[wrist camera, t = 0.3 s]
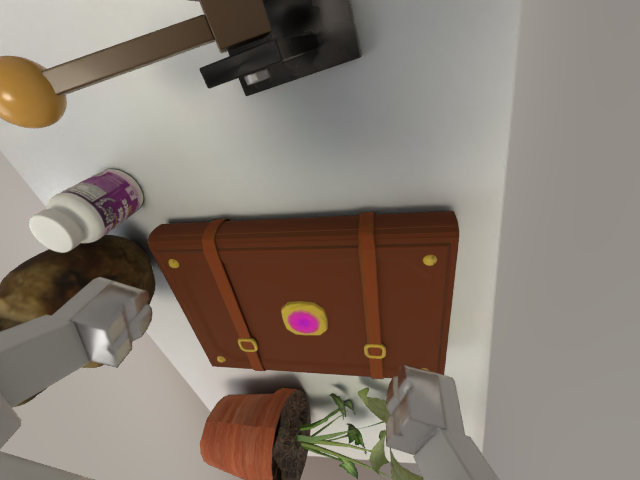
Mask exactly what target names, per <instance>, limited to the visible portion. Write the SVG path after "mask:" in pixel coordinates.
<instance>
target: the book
mask: <svg viewBox="0 0 640 480" xmlns="http://www.w3.org/2000/svg"><path fill="white" fill-rule="evenodd" d="M147 242H148V246H149V248H150V250H151V252H152V254H153V255H154V257H155V259H156V261H157V263H158V265H159V267H160V269H161V270H162V272H163V274H164V276H165V278H166V280H167V282H168V284H169V285H170V287H171V289H172V291H173V293H174V295H175V297H176V299H177V301H178V302H179V304H180V306H181V308H182V310H183V312H184V314H185V316H186V317H187V319H188V321H189V323H190V325H191V327H192V329H193V331H194V332H195V334H196V336H197V338H198V340H199V342H200V344H201V346H202V348H203V349H204V351H205V353H206V355H207V357H208V359H209V361H210V363H211V364H212V366H216V367H231V368H246V369H254V370H255V371H266V370H276V371H291V372H306V373H321V374H336V375H351V376H367V377H371V378H373V379H384V378H393V377H396V376H398V369H399V367H400V366H401V365H402V364H406V365H410V366H414V367H418V368H421V369H425V370H429V371H433V372H435V373H438V374H442V375H444V370H445V361H446V352H447V343H448V333H449V324H450V315H451V306H452V297H453V288H454V279H455V270H456V261H457V251H458V242H459V227H458V221H457V218H456V215H455V213H454V211H441V212H419V213H397V214H375V212H363V213H360V215H352V216H329V217H307V218H285V219H262V220H240V221H231V220H230V219H228V218H227V219H215V220H213V221H212V222H195V223H173V224H161V225H159V226H158V227H156V228H155V229H154V230H153V231H152V233H151V234H150V236H149V238H148V241H147Z"/></svg>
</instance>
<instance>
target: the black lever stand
mask: <svg viewBox="0 0 640 480" xmlns="http://www.w3.org/2000/svg"><path fill="white" fill-rule="evenodd" d="M190 1H199V0H190ZM199 2H200V1H199ZM262 2H263V5H264V8H265V11H266V14H267V17H268V20H269V23H270V26H271V29H272V31H271V32H270V34H269V35H268V36H267V37H265V38H263V39H260V40H257V41H254V42H251V43H249V44H246V45H243V46H240V47H238V48H235V49H232V50H229V51H228V53H229V55H230V56H229V57H227V58H224V59H222V60H219V61H217V62H214V63H212V64H209V65H206V66H204V67H201V68H200V72H201V74H202V76H203V78H204V81H205V83H206V85H207V87H208V88H212V87H215V86H218V85H220V84H223V83H226V82H229V81H231V80H234V79H237V78H239V80H240V83H241V85H242V88H243V90H244V93H245V95H246V96H249V95H252V94H255V93H258V92H261V91H263V90H266V89H269V88H272V87H275V86H278V85H281V84H284V83H287V82H290V81H293V80H296V79H299V78H301V77H304V76H307V75H310V74H313V73H316V72H319V71H322V70H325V69H328V68H331V67H334V66H336V65H339V64H342V63H345V62H348V61H351V60H354V59H357V58H360V57H361V56H362V54H361V50H360V45H359V40H358V36H357V31H356V26H355V21H354V17H353V12H352V7H351V3H350V0H262Z"/></svg>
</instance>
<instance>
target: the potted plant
mask: <svg viewBox="0 0 640 480" xmlns="http://www.w3.org/2000/svg"><path fill="white" fill-rule="evenodd" d="M368 391H369V388H365V389H363V390H361V391H359V392H358V395H359V396H360V398H361V399H362V400H363V401H364V403H365V404H366V406H367V407H368V408H369V409H370V411H371V412H373V413H374V414H375V415H376V416H377V417H378V418H380V419H381V420H382V422H380V423H383V422H385V423H386V422H387V421H388V419H389V418H390V416H391V415H390V413H389V412H388V410H387V408H386V401H384V400H381V399H378V398H371V397H367V393H368ZM329 396H331V397H332V398H333V400H334V401H335V403H336V404H337V406H338V407H339V409H337V410H335V411H333V412H332V413H330V414H329V415H328V416H327V417H325V418H324V419H322V420H319V421H317V422H315V423H312V424H311V418H310V407H309V403H308V399H307V397H306V395H305V393H304V392H303V391H301V390H299V389H291V388H281V389H279V390H277V391H276V392H275V393H269V394H238V395H228V396H225V397H223V398H222V399H221V400H220V401H219V402H218V403H217V404H216V406H215V407H214V409H213V410H212V412H211V414H210V415H209V417H208V418H207V420H206V424H205V427H204V431H203V434H202V438H201V441H200V449H201V455H202V457H203V460H204V461H205V462H206V463H207V464H209V465H211V466H213V467H216V468H218V469H220V470H223V471H225V472H227V473H230V474H232V475H235V476H237V477H239V478H242V479H244V480H300V478H301V475H302V472H303V469H304V466H305V462H306V458H307V453H308V450H310V451H312V452H314V453H317V454H321V455H324V456H327V457H331V458H333V459H336V460H339V461H341V462H344V463H346V464H344V463H342V464H341V465H339V466H341V467H343V468H344V469H346V470H347V472H348V473H349V474H352V475H353V476H354V477H356V478H357V479H358V472H357V469H356V468H355V465H354V463H357V464H359V465H362V466H364V467H367V468H369V469H372V470H374V471H376V472H377V473H378V474H379V473H381V474H384V473H382V472H380V471H379V469H380V467H381V466H382V465H383V464H386V463H389V461H387V459H386V457H385V453H384V439H385V436H386V430H384V431H381V432H380V435H379V438H380V441H379V442H378V443H377V444H376V446H375V447H374V448H373V449H372V451H371V450H366V449H365V447H364V443H363V439H362V435H361V433H360V431H359V430H358V429H357V428H355V426H354V425H352V424H347V425H349V427H348V428H349V429H348V431H345V432H339V433H334V434H328V435H322V436H315V435H317V434H318V433H320V432H321V431H322V430H323V429H325V428H326V427H327V426H329V425H330V424H331V423H332V422H333V421H335V420H336V419H338V418H339V417H341V416H342V415H343V419H344V414H345V417H346V412H347V411H346V410H345V406H347V407H349V408H350V409H352V410H353V411H354V409H353V407H352V404H351V402H350V401H347V402H343V401H342V399H341V398H340V397H339V396H337V395H336V394H334V393H331V394H330V395H329ZM338 411H341V413H342V415H341V416H339V417H338V418H336V419H335V420H333V421H332V422H330V423H329V424H328V425H326V426H325V427H323V428H322V429H320V430H319V431H318V432H316V433H315V434H313V435H311V436H310V429H312V428H314V427H316V426H318V425H320V424H322V423H324V422H326V421H327V420H328V418H329V417H331V416H333V415H334V414H336V413H337V412H338ZM343 411H344V412H343ZM354 415H355V411H354ZM380 423H377V424H380ZM374 425H376V424H374ZM371 426H373V425H371ZM368 427H369V426H368ZM364 428H365V427H364ZM360 429H361V428H360ZM345 433H348V434H347V435H345V436H342V437H339V438H344V437H349V443H351V442H353V441H354V440H355V445H359V444H361V445H362V446H363V447H364V449H363V448H360V447H356V446H353V445H350V444H344V443H339V442H333V441H332V440H336V439H339V438H336V439H330V440H326V439H329V438H332V437H336V436H339V435H342V434H345ZM314 436H315V437H314ZM314 444H323V445H334V446H344V447H351V448H355V449H360V450H364V451H365V454H366V451H370V452H371V456H370V462H371V465H372V468H371V467H369V466H367V465H365V464H363V463H361V462H358V461H356V460H354V459H351V458H349V457H346V456H344V455H341V454H339V453H336V452H334V451H331V450H328V449H326V448H323V447H320V446H317V445H314ZM320 451H321V452H320ZM322 452H324V453H322ZM325 453H328V454H331V455H334V456H337V457H338V458H339V459H337V458H335V457H333V456H330V455H327V454H325ZM390 455H391V474H392V478H393V480H424V479H423V477H421V476H419V475H416V474H414V473H412V472H410V471H409V470H407V469H405V468H403V467H402V466H401V465H400V464H399V463H398V462H397V461H396V459H395V458H394V456H393V453H392V452H391V448H390ZM353 462H354V463H353ZM384 475H386V474H384ZM387 476H388V475H387ZM382 479H383V478H382Z"/></svg>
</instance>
